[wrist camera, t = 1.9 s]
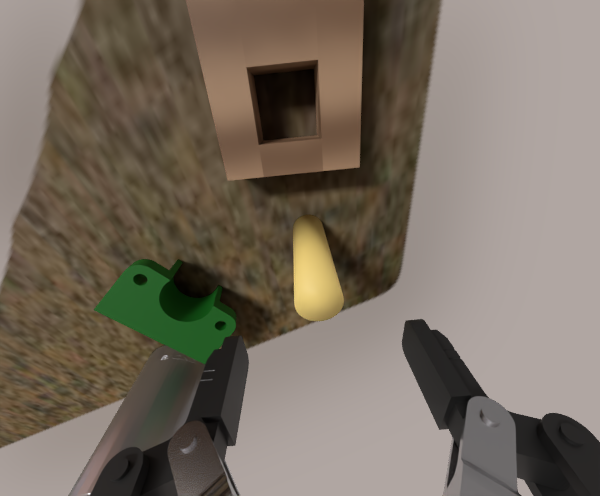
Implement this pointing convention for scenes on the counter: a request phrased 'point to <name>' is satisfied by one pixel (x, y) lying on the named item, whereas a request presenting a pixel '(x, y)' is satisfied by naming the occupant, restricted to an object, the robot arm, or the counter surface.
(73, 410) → the counter surface
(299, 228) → the peg
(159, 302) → the clamp
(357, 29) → the hole block
